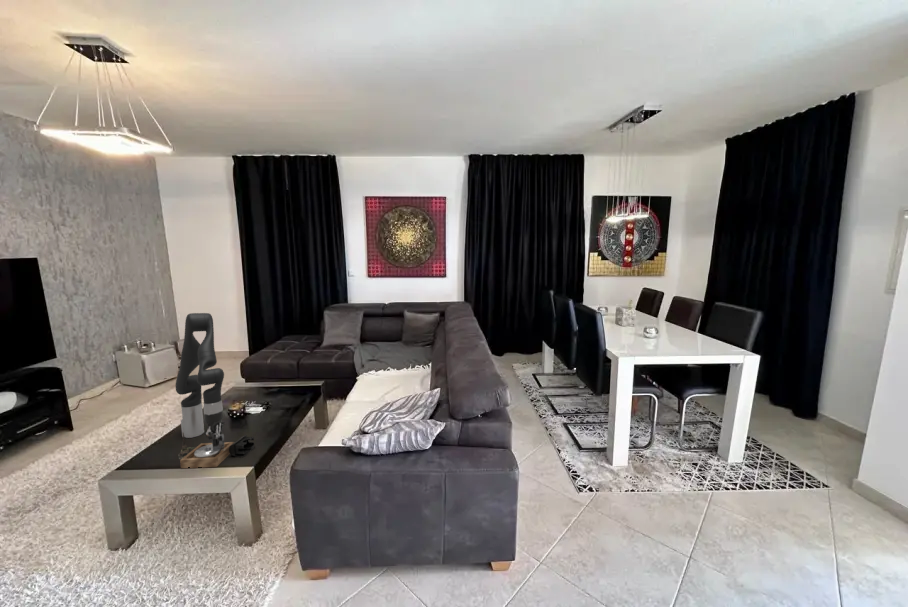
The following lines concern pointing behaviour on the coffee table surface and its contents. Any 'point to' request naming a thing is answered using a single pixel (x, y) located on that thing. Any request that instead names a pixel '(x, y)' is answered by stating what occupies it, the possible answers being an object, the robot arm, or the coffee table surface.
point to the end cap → (241, 446)
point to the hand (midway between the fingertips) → (216, 445)
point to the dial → (210, 449)
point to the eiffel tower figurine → (184, 451)
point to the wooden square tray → (205, 462)
